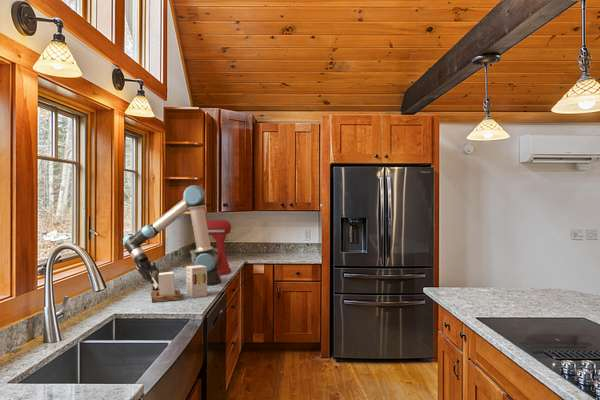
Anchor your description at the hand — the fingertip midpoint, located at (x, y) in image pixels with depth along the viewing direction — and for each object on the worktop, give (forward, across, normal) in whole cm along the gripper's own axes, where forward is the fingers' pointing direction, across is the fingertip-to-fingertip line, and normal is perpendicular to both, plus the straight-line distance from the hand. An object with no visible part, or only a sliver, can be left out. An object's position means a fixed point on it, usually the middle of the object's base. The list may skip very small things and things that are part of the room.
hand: (159, 286), depth 234 cm
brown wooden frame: (+8, +3, +3) cm, 9 cm away
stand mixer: (-8, -65, -14) cm, 67 cm away
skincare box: (+13, +8, +6) cm, 16 cm away
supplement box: (+19, -6, +13) cm, 24 cm away
